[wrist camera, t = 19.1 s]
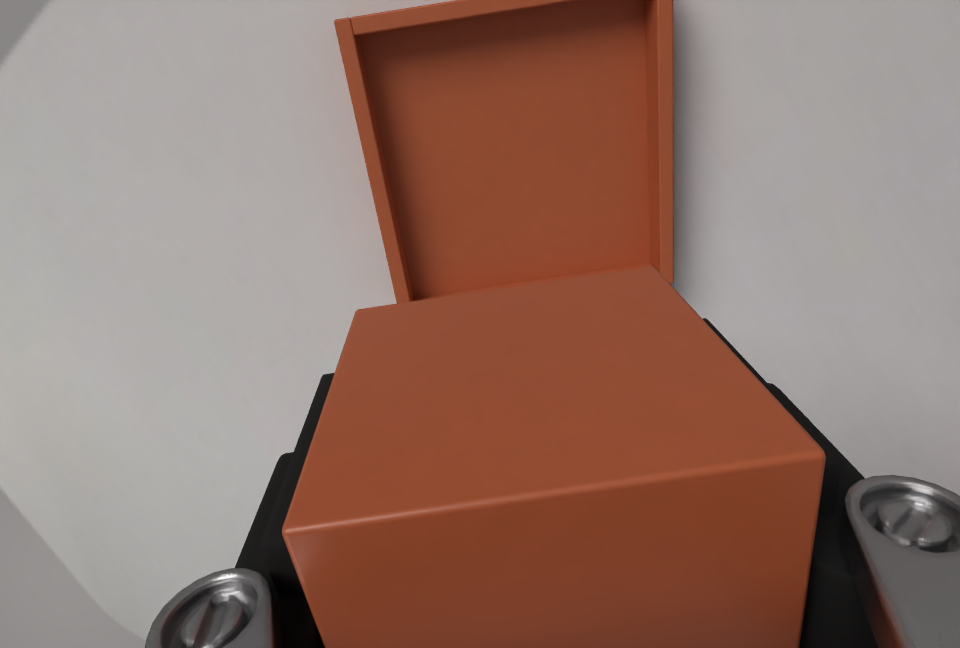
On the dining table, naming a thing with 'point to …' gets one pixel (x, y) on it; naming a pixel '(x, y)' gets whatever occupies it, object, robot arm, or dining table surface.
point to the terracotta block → (553, 478)
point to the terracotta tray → (515, 139)
